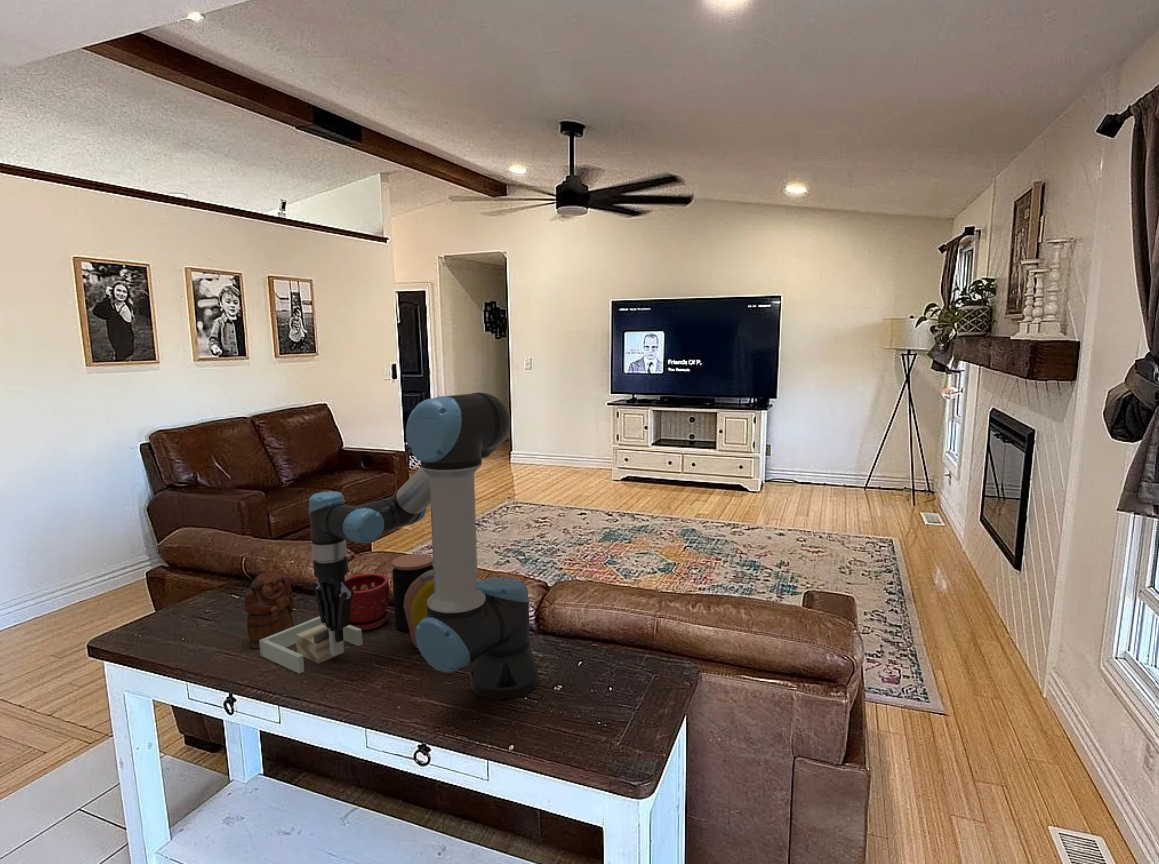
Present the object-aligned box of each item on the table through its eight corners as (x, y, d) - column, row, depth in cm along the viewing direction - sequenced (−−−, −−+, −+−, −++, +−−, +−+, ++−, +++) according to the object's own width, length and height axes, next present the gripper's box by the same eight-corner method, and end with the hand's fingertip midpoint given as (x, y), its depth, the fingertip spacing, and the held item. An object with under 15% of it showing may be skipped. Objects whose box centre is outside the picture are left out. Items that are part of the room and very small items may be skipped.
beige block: (344, 652, 162) (342, 625, 161) (318, 663, 156) (316, 635, 155) (322, 642, 167) (320, 616, 166) (297, 653, 161) (294, 626, 160)
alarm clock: (460, 629, 174) (457, 562, 171) (473, 640, 167) (470, 570, 164) (404, 643, 166) (400, 573, 163) (415, 656, 159) (411, 583, 156)
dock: (362, 644, 166) (361, 629, 165) (299, 673, 151) (298, 657, 151) (323, 629, 175) (322, 615, 174) (260, 655, 161) (259, 640, 160)
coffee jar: (426, 634, 170) (422, 567, 168) (388, 631, 173) (384, 565, 170) (442, 617, 181) (439, 554, 178) (406, 615, 183) (403, 552, 181)
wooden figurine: (265, 652, 162) (259, 582, 160) (246, 648, 165) (239, 579, 162) (301, 632, 173) (295, 566, 171) (282, 628, 176) (276, 564, 173)
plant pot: (351, 614, 185) (348, 572, 183) (397, 614, 184) (395, 572, 182) (331, 634, 172) (328, 590, 170) (381, 634, 171) (379, 590, 169)
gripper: (361, 558, 153) (367, 653, 157) (327, 549, 161) (334, 640, 164) (333, 567, 147) (340, 667, 150) (299, 557, 154) (306, 652, 158)
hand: (337, 653), depth 157 cm, fingers closed
